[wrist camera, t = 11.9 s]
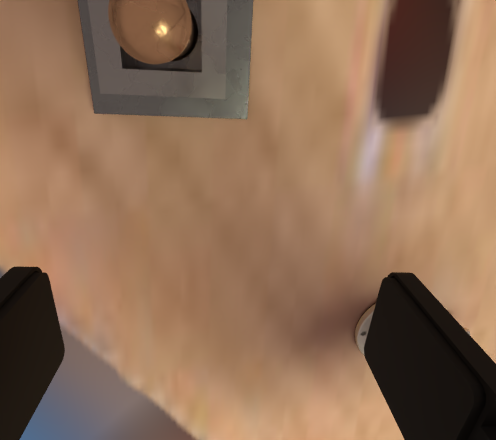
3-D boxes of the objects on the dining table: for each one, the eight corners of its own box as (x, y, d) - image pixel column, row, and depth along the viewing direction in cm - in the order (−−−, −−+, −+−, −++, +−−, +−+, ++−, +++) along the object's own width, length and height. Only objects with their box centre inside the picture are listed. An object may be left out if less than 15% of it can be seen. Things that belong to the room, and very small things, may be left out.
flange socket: (255, -65, 26) (265, -95, 21) (246, 117, 33) (252, 129, 27) (70, -82, 25) (31, -119, 20) (97, 111, 31) (73, 123, 26)
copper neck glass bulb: (197, 0, 27) (189, -27, 18) (198, 62, 29) (191, 66, 20) (139, -4, 27) (102, -33, 18) (144, 59, 29) (113, 62, 20)
